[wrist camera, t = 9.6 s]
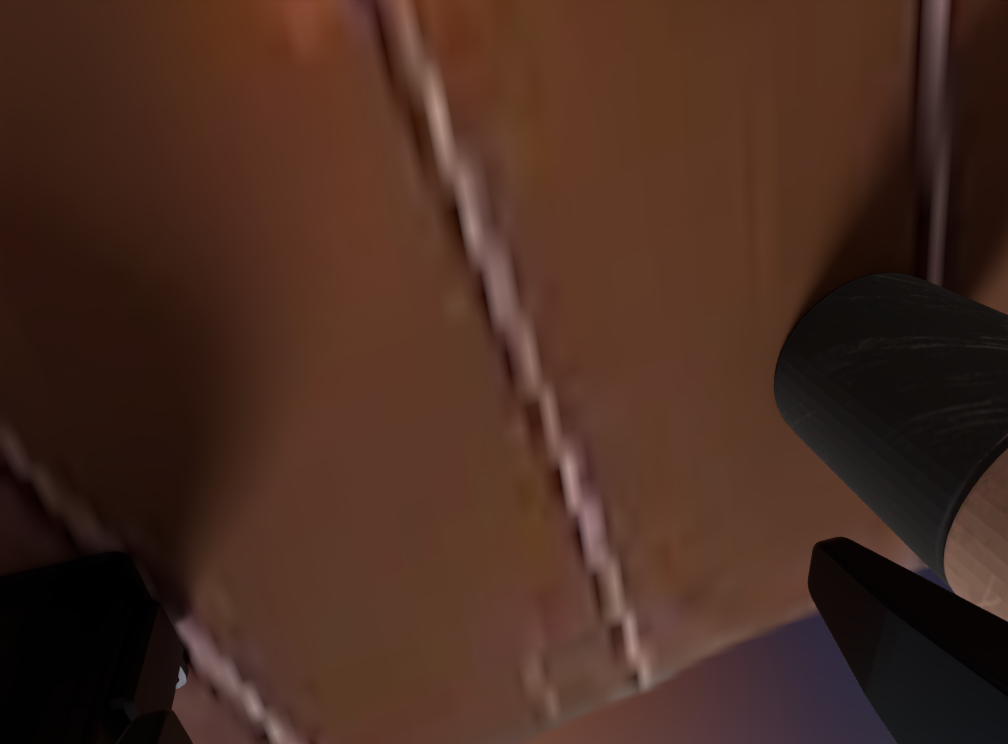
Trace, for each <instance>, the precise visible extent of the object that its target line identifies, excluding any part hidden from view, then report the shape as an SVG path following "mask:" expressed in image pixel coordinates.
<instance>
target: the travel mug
mask: <svg viewBox="0 0 1008 744" xmlns="http://www.w3.org/2000/svg"><path fill="white" fill-rule="evenodd" d="M774 392H775V399H776V403H777V406H778V409H779V411H780V413H781V415H782V417H783V418H784V420H785V421H786V423H787V424H788V425H789V426H790V427H791V429H792V430H793V431H794V432H795V433H796V434H797V435H798V436H799V437H800V438H801V439H802V440H803V441H804V442H805V443H806V444H807V445H808V446H809V447H810V448H811V449H812V450H813V451H814V452H815V453H816V454H817V455H818V456H819V457H820V458H821V459H822V460H823V461H824V462H825V463H826V464H827V465H828V466H829V467H830V468H831V469H832V470H833V471H834V472H835V473H836V474H837V475H838V476H839V477H840V478H841V479H842V480H843V481H844V482H845V483H846V484H847V485H848V486H849V487H850V488H851V489H852V490H853V491H854V492H855V493H856V494H857V495H858V496H859V497H860V498H861V499H862V500H863V501H864V502H865V503H866V504H867V505H868V506H869V507H870V508H871V509H872V510H873V511H874V512H875V513H876V515H877V516H878V517H879V518H880V519H881V520H882V521H883V522H884V523H885V524H886V525H887V526H888V527H889V528H890V529H891V530H892V531H893V532H894V533H895V534H896V535H897V536H898V537H899V538H900V539H901V540H902V541H903V542H904V543H905V544H906V545H907V546H908V547H909V548H910V549H911V550H912V551H913V552H914V553H915V554H916V555H917V556H918V557H919V558H920V559H921V560H922V561H923V562H924V563H925V564H926V565H927V566H928V567H929V568H930V569H931V570H932V571H934V573H935V574H936V575H938V577H939V578H940V579H942V580H943V582H944V583H946V584H947V585H948V586H949V587H950V588H951V589H952V590H953V591H954V592H955V593H956V594H957V595H958V596H960V597H962V598H964V599H966V600H967V601H969V602H971V603H973V604H975V605H977V606H979V607H981V608H983V609H985V610H987V611H989V612H990V613H992V614H994V615H996V616H998V617H1000V618H1002V619H1004V620H1006V621H1008V315H1006V314H1004V313H1001V312H999V311H997V310H994V309H992V308H990V307H987V306H985V305H983V304H980V303H978V302H976V301H973V300H971V299H969V298H966V297H964V296H961V295H959V294H957V293H954V292H952V291H949V290H947V289H945V288H942V287H940V286H937V285H935V284H932V283H930V282H927V281H925V280H922V279H920V278H917V277H914V276H911V275H906V274H901V273H880V274H873V275H869V276H865V277H862V278H859V279H857V280H854V281H851V282H850V283H848V284H846V285H844V286H842V287H840V288H838V289H837V290H835V291H833V292H832V293H830V294H829V295H828V296H826V297H825V298H824V299H822V300H821V301H820V302H819V303H818V304H816V305H815V306H814V307H813V308H812V309H811V310H810V311H809V312H808V313H807V314H806V315H805V317H804V318H803V319H802V320H801V321H800V322H799V324H798V325H797V326H796V328H795V329H794V331H793V332H792V334H791V335H790V337H789V339H788V340H787V342H786V344H785V346H784V348H783V350H782V353H781V355H780V358H779V361H778V364H777V368H776V373H775V381H774Z"/></svg>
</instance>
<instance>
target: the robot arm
mask: <svg viewBox="0 0 1008 744" xmlns="http://www.w3.org/2000/svg"><path fill="white" fill-rule="evenodd" d="M109 566H116V567H119V568H120V569H112V568H110V567H109ZM808 588H809V592H810V595H811V597H812V599H813V601H814V603H815V605H816V607H817V609H818V610H819V612H820V614H821V616H822V617H823V620H824V622H825V623H826V625H827V627H828V629H829V631H830V632H831V634H832V636H833V638H834V640H835V642H836V644H837V645H838V647H839V649H840V651H841V653H842V655H843V657H844V658H845V660H846V662H847V664H848V666H849V667H850V669H851V671H852V673H853V675H854V677H855V679H856V680H857V682H858V684H859V686H860V687H861V689H862V690H863V693H864V694H865V696H866V697H867V699H868V701H869V702H870V704H871V705H872V707H873V708H874V710H875V712H876V713H877V714H878V716H879V717H880V719H881V720H882V722H883V723H884V725H885V726H886V728H887V729H888V731H889V732H890V734H891V735H892V737H893V738H894V740H895V741H896V743H897V744H1008V621H1006V620H1004V619H1002V618H1000V617H998V616H996V615H994V614H992V613H990V612H989V611H987V610H985V609H983V608H981V607H979V606H977V605H975V604H973V603H971V602H969V601H967V600H966V599H964V598H962V597H960V596H958V595H956V594H954V593H952V592H950V591H948V590H946V589H944V588H942V587H940V586H939V585H937V584H935V583H933V582H931V581H929V580H927V579H925V578H923V577H921V576H919V575H917V574H916V573H914V572H912V571H910V570H908V569H906V568H904V567H902V566H900V565H898V564H896V563H894V562H892V561H891V560H889V559H887V558H885V557H883V556H881V555H879V554H877V553H875V552H873V551H871V550H869V549H867V548H866V547H864V546H862V545H860V544H858V543H856V542H854V541H852V540H850V539H848V538H845V537H835V538H831V539H827V540H823V541H819V542H817V543H816V544H815V545H814V547H813V551H812V557H811V563H810V569H809V575H808ZM183 652H184V649H183V646H182V644H181V643H180V641H179V639H178V637H177V635H176V633H175V631H174V629H173V627H172V625H171V623H170V621H169V619H168V617H167V615H166V613H165V611H164V610H163V608H162V606H161V604H160V603H159V602H157V601H156V600H155V599H152V598H151V596H150V594H149V592H148V590H147V588H146V586H145V584H144V582H143V580H142V578H141V576H140V574H139V573H138V571H137V569H136V567H135V565H134V563H133V561H132V559H131V558H130V557H129V556H128V555H126V554H124V553H121V552H108V553H104V554H100V555H95V556H91V557H87V558H82V559H78V560H74V561H69V562H65V563H61V564H56V565H52V566H48V567H43V568H39V569H35V570H30V571H26V572H22V573H17V574H13V575H9V576H4V577H0V744H193V743H192V741H191V739H190V737H189V736H188V734H187V732H186V731H185V729H184V727H183V726H182V724H181V722H180V721H179V719H178V717H177V716H176V714H175V713H174V711H173V710H171V709H172V704H173V699H174V695H175V690H176V689H177V688H180V687H182V686H183V685H184V684H185V683H186V680H187V676H188V667H187V665H186V663H185V661H184V659H183Z"/></svg>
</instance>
